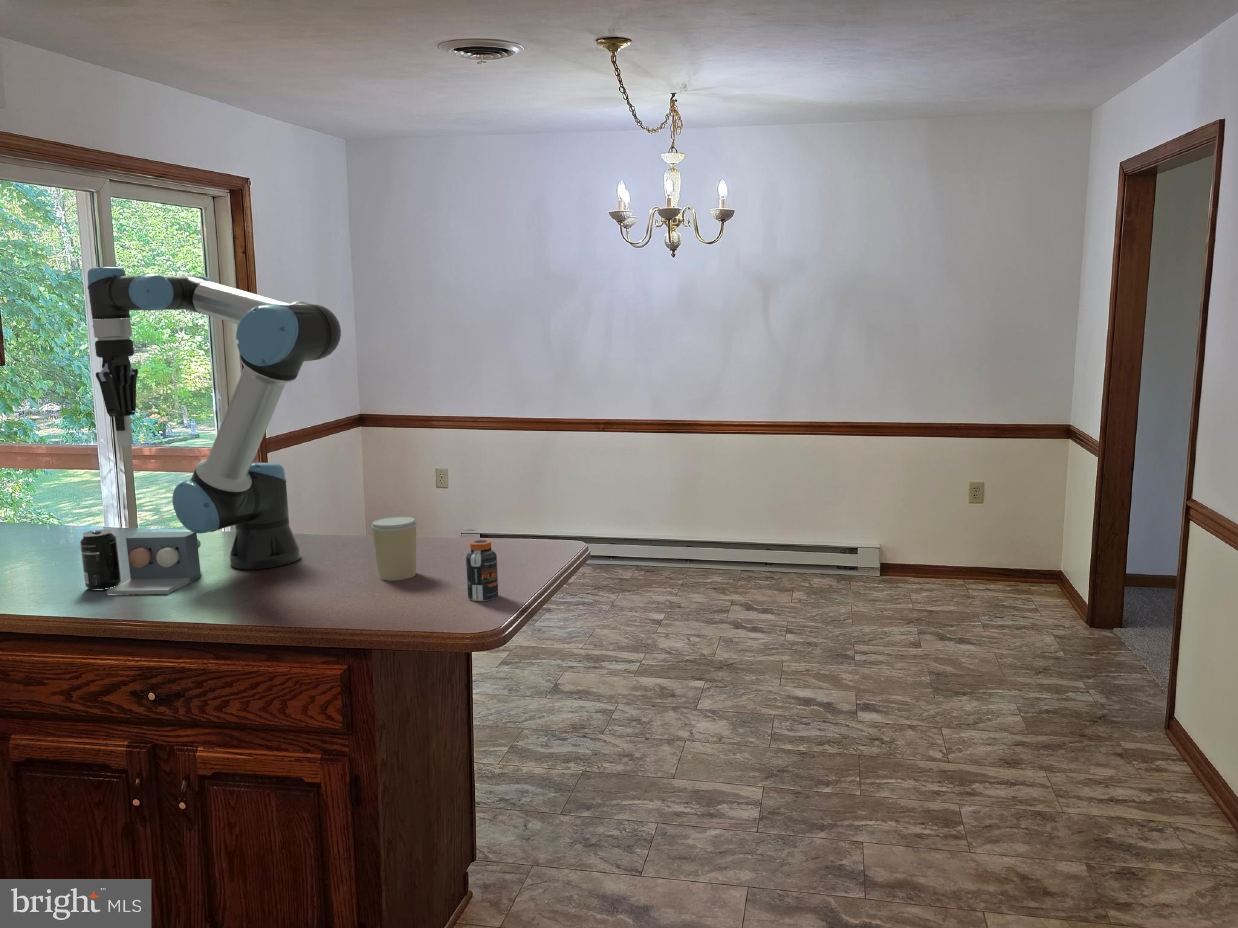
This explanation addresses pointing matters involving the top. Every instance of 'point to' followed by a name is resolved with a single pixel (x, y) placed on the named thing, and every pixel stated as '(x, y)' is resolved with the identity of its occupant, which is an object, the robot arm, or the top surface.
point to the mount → (155, 575)
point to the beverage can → (100, 559)
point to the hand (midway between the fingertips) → (125, 444)
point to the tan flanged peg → (140, 557)
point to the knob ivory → (169, 556)
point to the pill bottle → (481, 571)
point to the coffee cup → (395, 547)
